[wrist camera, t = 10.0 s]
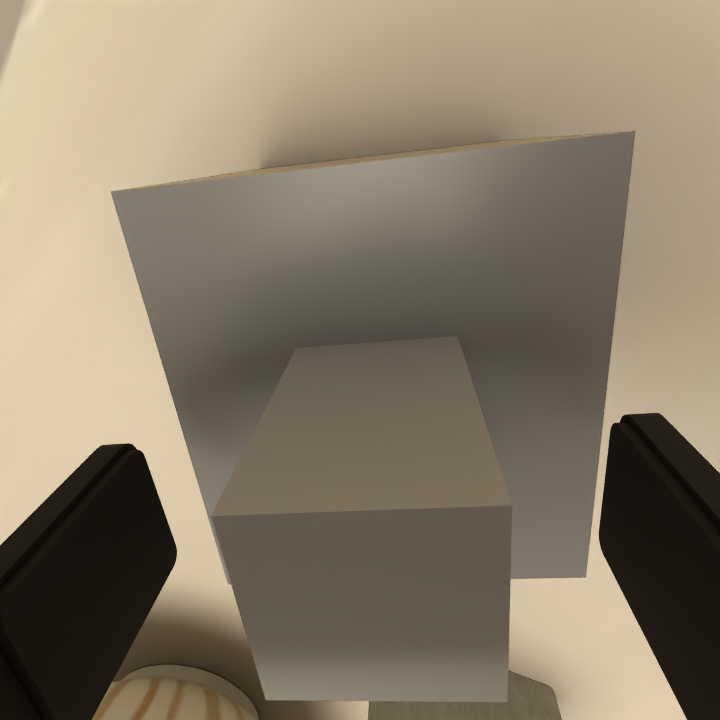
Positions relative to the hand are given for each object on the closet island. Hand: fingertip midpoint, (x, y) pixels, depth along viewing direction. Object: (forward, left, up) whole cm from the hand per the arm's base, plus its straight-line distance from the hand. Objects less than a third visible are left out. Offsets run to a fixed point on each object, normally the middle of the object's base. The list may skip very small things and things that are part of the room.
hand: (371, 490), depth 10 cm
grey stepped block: (0, 0, -16) cm, 16 cm away
